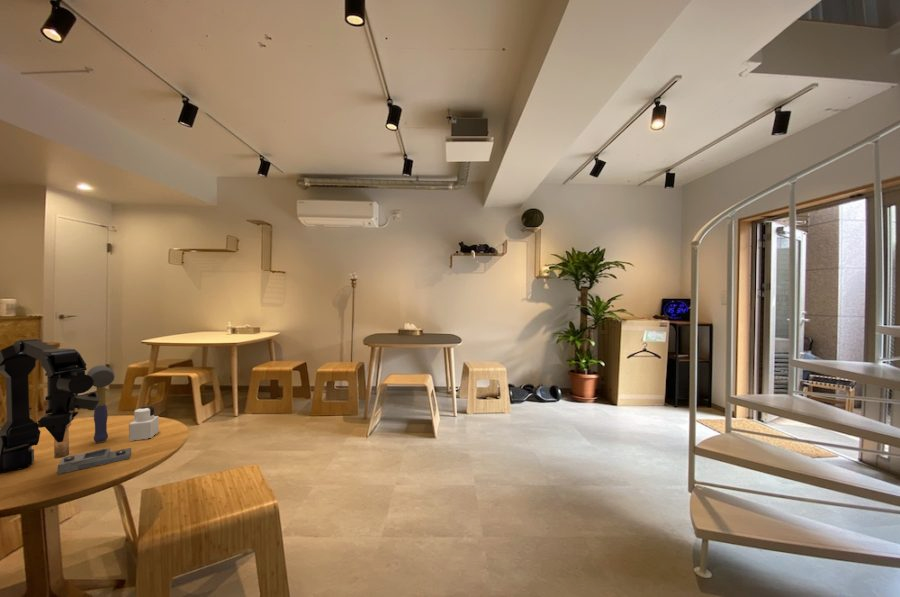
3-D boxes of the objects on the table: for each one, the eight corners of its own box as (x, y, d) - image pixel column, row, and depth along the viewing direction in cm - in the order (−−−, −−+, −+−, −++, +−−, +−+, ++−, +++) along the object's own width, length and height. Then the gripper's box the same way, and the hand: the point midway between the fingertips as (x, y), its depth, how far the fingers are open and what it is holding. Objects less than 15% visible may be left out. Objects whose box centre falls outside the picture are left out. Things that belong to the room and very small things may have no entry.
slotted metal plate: (57, 474, 110) (57, 463, 110) (62, 465, 115) (62, 455, 115) (129, 458, 121) (129, 448, 121) (131, 451, 126) (131, 441, 126)
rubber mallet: (116, 443, 133) (116, 367, 133) (88, 450, 127) (88, 370, 127) (112, 434, 141) (111, 363, 141) (85, 440, 135) (85, 365, 135)
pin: (50, 460, 103) (49, 427, 103) (53, 455, 106) (53, 423, 106) (69, 456, 106) (69, 424, 106) (72, 452, 109) (72, 420, 109)
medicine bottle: (137, 434, 141) (137, 406, 141) (159, 432, 144) (158, 404, 144) (128, 441, 135) (128, 411, 135) (151, 439, 137) (150, 409, 137)
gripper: (93, 392, 104) (93, 443, 104) (102, 380, 118) (103, 424, 118) (37, 399, 97) (37, 453, 97) (54, 385, 111) (54, 433, 111)
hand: (61, 439), depth 106 cm, fingers closed on pin, 3 cm apart
